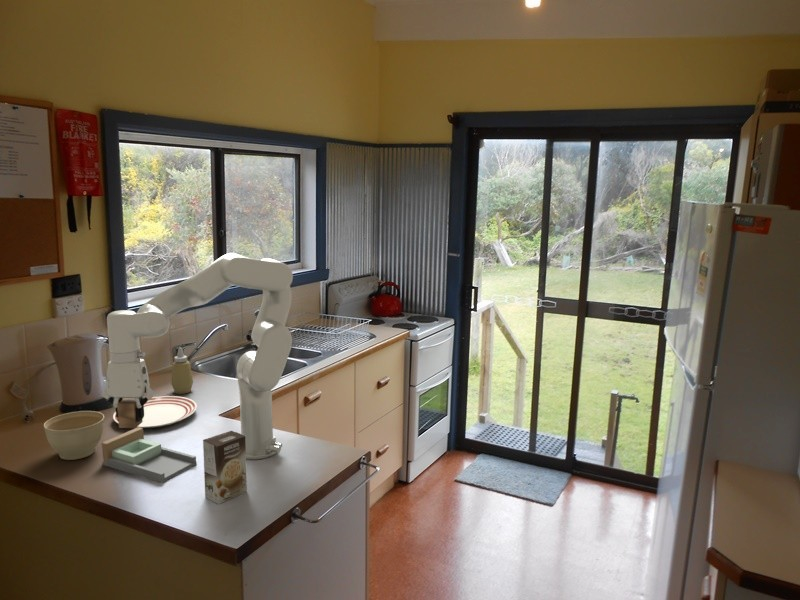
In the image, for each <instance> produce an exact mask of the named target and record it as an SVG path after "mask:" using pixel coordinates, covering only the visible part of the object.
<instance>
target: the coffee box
mask: <svg viewBox="0 0 800 600" xmlns="http://www.w3.org/2000/svg"><path fill="white" fill-rule="evenodd" d="M202 444H203V445H202V447H203V471H204V472H203V474H204V497H205V498H206V499H209V500H210V501H212V502H214V503H215V504H218V505H219V504H220V505H221V504H222V503H224V502H227V501H229V500H231V499H234V498H236V497H238V496H240V495H242V494H245V493H247V492H248V487H247V486H248V484H247V482H248V481H247V459H246V442H245V436H244V435H242V434H241V432H240V433H239V432H236V431H233V430H230V431H226V432H223V433H221V434H217V435H214V436H211V437H208V438H205V439H203V440H202Z"/></svg>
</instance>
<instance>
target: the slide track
mask: <svg viewBox="0 0 800 600" xmlns="http://www.w3.org/2000/svg"><path fill="white" fill-rule="evenodd" d="M139 438H140V439H144V438H145V437H144V428H140V427H138V428H137V427H136V428H132V429H131V430H128V431H126V432H124V433H121V434H119V435H117V436H115V437H112V438H109V439H108V440H104V441H102V442H101V449H102V461H101V462H102V466H105V467H108V466H109V467H108V468H112V469H114V470H118V469H119V470H118V471H122V472H125V473H128V474H132V475H135V476H138V477H141V478H144V479H148V480H151V481H155V482H158V483H161V484H163V483H164V482H167V481H169V480H170V479H172V478H174V477H175V476H178V475H180V474H181V473H183V472H184V471H187V470H188V469H190V468H192V467H194V466H197V456H196V455H191V454H188V453H185V452H181V451H177V450H173V449H171V448H168V447H163V446H161V452H162V454H160V455H158V456H156V457H154V458H152V459H150V460H148V461H146V462H144V463H142V464H140V465H136V464H133V463H129V462H126V461H123V460H119V459H116V458H113V457H112V450H114V449H117V448H119V447H121V446H123V445H126V444H128V443H130V442H132V441H135V440H137V439H139ZM144 440H145V439H144Z"/></svg>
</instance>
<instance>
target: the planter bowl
mask: <svg viewBox="0 0 800 600" xmlns="http://www.w3.org/2000/svg"><path fill="white" fill-rule="evenodd" d="M104 421H105V414H103V413H102V412H99V411H95V410H93V411H92V410H79V411H71V412H67V413H63V414H59V415H56V416H54V417H51V418H50V419H47V420H46V421H45V422H44V423H43V429H44V432H45V437H46V439H47V442H48V443H49V445H50V447H51V448H52V449H53V450H54V451H55V452H56V453H57V454H58V455H59V458H60V459H61V460H62V459H63V460H67V461H74V460H79V459H83V458H84V459H85V458H86V457H89V456H91V455H93V453H95V451H96V447H97V446H98V444H99V442H100V441H101V438H102V437H103V433H104V427H105V424H104Z"/></svg>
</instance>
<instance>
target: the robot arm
mask: <svg viewBox="0 0 800 600" xmlns="http://www.w3.org/2000/svg"><path fill="white" fill-rule="evenodd" d="M293 279H294V275H293V271H292V269H291V267H290V266H289V265H288V264H287V263H284V262H282V261H279V260H277V259H274V258H269V257H266V258H261V259H258V258H252V257H251V258H250V257H247V256H243V255H241V254H237V253H234V252H229V253H226V254H224V255H222V256H220V257H219V258H217V259H216V260H214V261H213V262H211V263H210V264H208V265H207V266H205V267H204V268H203V269H201V270H199V271H198V272H196V273H195V274H193V275H191V276H190V277H189V278H187V279H185V280H184V281H181V282H179V283H177V284H176V285H173V286H171V287H169V288H167V289H165V290H164V291H162V292H160V293H158V294H157V295H155V296H154V297H153V298H151V299H150V300H148V301H147V302H145V303H143V305H141V306H140V307H139V309H138V310H137V312H135V311H133V310H130V309H128V310H127V309H126V310H125V309H121V310H114V311H111V312H110V313H108V314H107V317H106V325H107V335H108V336H107V338H108V348H109V350H108V351H109V361H108V363H107V369H106V370H107V371H106V388H105V389H104V390H103V391H102V394H101V396H102V398H104V399H105V400H107V401H108V402H109V403H111V404H112V407H113V408H115V409H114V410H115V412H116V417H117V421H118V409H117V403H119V402H120V401H121V400H123V399H124V398H134V399H135V402H136V405H137V408H135V412H136V421H137V422H139V421H141V420H142V419H143V417H144V404H145V403H146V402H147V401H148V400H150V399H151V398H153V397H156V393H155V392H154V391H153V389H152V388H151V387H150V380H149V379H150V378H149V372H148V367H147V364H146V361H145V359H144V358H145V357H146V352H144V351H142V349H141V346H140V345H141V344H140V338H159V337H162V336H164V335H165V334H166V333H167V332H168V331H169V329H170V326H171V325H170V324H171V321H170V318H172V317H173V316H175V315H176V314H178V313H180V312H181V311H184V310H186V309H189V308H193V307H199V306H203V305H206V304H208V303H209V302H211V301H213V300H214V299H215V298H216V297H219V295H221V294H222V293H224V292H225V291H226V290H229V289H230V288H231V287H233V286H235V287H238V288H239V287H240V288H244V289H245V288H246V289H251V290H253V289H254V290H259V291H262V299H261V300H262V301H261V305H260V308H259V310H258V314H257V316H256V320H255V321H254V325H253V328H252V330H251V336H250V337H251V340H252V343H254V346H257V349H256V350H249V351H246V352H245V353H243V354H241V356H240V357H239V359H238V361H237V365H236V376H237V377H236V378H237V383H238V390H239V411H240V413H239V415H240V434H242V435H244V436H245V442H246V460H260V459H267V458H270V457H272V456H274V455H275V454H279V453H280V452H281V451H282V447H283V443H281V442H277V437H276V436H274V429H273V428H274V426H273V394H272V392H273V391H272V390H273V389H274V388H276V386H277V385H278V384H279V382H280V380H281V378H282V375H283V372H284V370H285V368H286V364H287V362H288V361H287V360H288V358H289V356H290V354H291V350H292V346H293V345H292V344H293V336H292V333H291V331H290V330H289V329H288V327H287V326H286V323H287V320H288V316H289V313H290V310H291V305H292V295H293V294H292V289H291V288H292V287H291V285H292V283H293ZM145 394H146V396H144V395H145ZM118 422H119V421H118Z"/></svg>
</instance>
